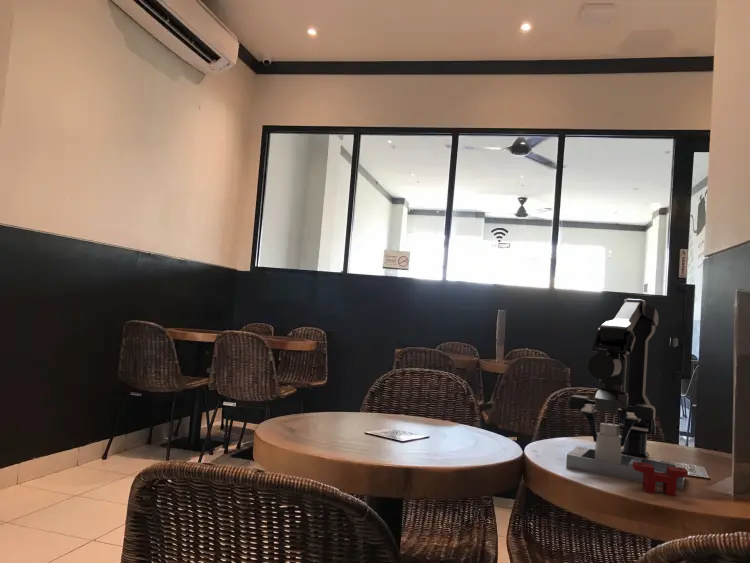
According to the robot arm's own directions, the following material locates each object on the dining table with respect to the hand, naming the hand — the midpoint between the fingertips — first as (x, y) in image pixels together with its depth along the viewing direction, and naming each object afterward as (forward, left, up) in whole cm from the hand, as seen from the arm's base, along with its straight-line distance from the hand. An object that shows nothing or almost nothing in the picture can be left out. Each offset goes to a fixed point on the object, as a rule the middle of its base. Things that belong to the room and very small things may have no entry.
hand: (608, 443), depth 136 cm
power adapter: (0, 0, -5) cm, 5 cm away
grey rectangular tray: (0, +4, -6) cm, 7 cm away
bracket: (+12, +17, -3) cm, 21 cm away
